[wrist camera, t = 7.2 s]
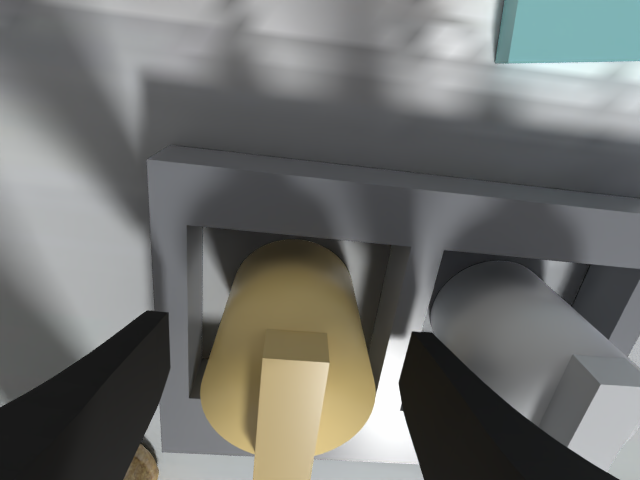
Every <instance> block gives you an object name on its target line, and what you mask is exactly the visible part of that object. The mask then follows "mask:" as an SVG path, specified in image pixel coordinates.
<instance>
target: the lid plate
mask: <svg viewBox="0 0 640 480" xmlns="http://www.w3.org/2000/svg"><path fill="white" fill-rule="evenodd" d="M615 61H640V0H504V6H503V13H502V20H501V26H500V33H499V40H498V46H497V53H496V60H495V63H559V62H615Z"/></svg>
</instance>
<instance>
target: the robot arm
mask: <svg viewBox="0 0 640 480" xmlns="http://www.w3.org/2000/svg"><path fill="white" fill-rule="evenodd" d="M170 368H171V365H170V338H169V312H159V311H146V312H144V313H143V314H141V315H140V316H139V317H137V318H136V319H135V320H133V321H132V322H131V323H129V324H128V325H127V326H126V327H124V328H123V329H122V330H120V331H119V332H118V333H116V334H115V335H114V336H112V337H111V338H110V339H108V340H107V341H106V342H104V343H103V344H101V345H100V346H99V347H97V348H96V349H95V350H93V351H92V352H90V353H89V354H88V355H86V356H85V357H83V358H82V359H80V360H79V361H77V362H76V363H74V364H73V365H71V366H70V367H68V368H67V369H65V370H64V371H62V372H61V373H59V374H58V375H56V376H54V377H53V378H51V379H50V380H48V381H46V382H45V383H43V384H41V385H40V386H38V387H36V388H35V389H33V390H31V391H29V392H27V393H26V394H24V395H22V396H20V397H19V398H17V399H15V400H13V401H11V402H9V403H8V404H6V405H4V406H2V407H0V480H123V479H124V477H125V475H126V473H127V471H128V469H129V466H130V464H131V462H132V460H133V458H134V456H135V454H136V451H137V449H138V447H139V445H140V443H141V441H142V439H143V437H144V434H145V432H146V430H147V428H148V426H149V424H150V422H151V419H152V417H153V415H154V413H155V411H156V409H157V406H158V404H159V402H160V399H161V396H162V393H163V390H164V387H165V384H166V381H167V378H168V375H169V372H170ZM398 384H399V390H400V396H401V402H402V407H403V412H404V417H405V420H406V423H407V427H408V430H409V433H410V436H411V440H412V443H413V446H414V449H415V452H416V455H417V459H418V462H419V465H420V468H421V471H422V474H423V477H424V480H619V479H617V478H616V477H614V476H612V475H610V474H609V473H607V472H605V471H604V470H602V469H601V468H599V467H597V466H596V465H594V464H592V463H591V462H589V461H588V460H586V459H584V458H583V457H581V456H580V455H578V454H577V453H575V452H574V451H572V450H571V449H569V448H568V447H566V446H565V445H563V444H562V443H560V442H559V441H557V440H556V439H554V438H553V437H551V436H550V435H549V434H547V433H546V432H545V431H543V430H542V429H540V428H539V427H538V426H536V425H535V424H534V423H532V422H531V421H530V420H528V419H527V418H526V417H524V416H523V415H522V414H521V413H519V412H518V411H517V410H516V409H514V408H513V407H512V406H511V405H510V404H508V403H507V402H506V401H505V400H504V399H502V398H501V397H500V396H499V395H498V394H497V393H495V392H494V391H493V390H492V389H491V388H490V387H489V386H488V385H486V384H485V383H484V382H483V381H482V380H481V379H480V378H479V377H478V376H477V375H476V374H474V373H473V372H472V371H471V370H470V369H469V368H468V367H467V366H466V365H465V364H464V363H463V362H462V361H461V360H460V359H459V358H458V357H457V356H456V355H455V354H454V353H453V352H452V351H451V350H450V349H449V348H447V347H446V346H445V345H444V344H443V343H442V342H441V341H440V340H439V339H438V338H437V337H436V336H435V335H434V334H433V333H430V332H417V331H412V333H411V337H410V341H409V344H408V348H407V352H406V356H405V359H404V363H403V367H402V371H401V375H400V378H399V382H398Z"/></svg>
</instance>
